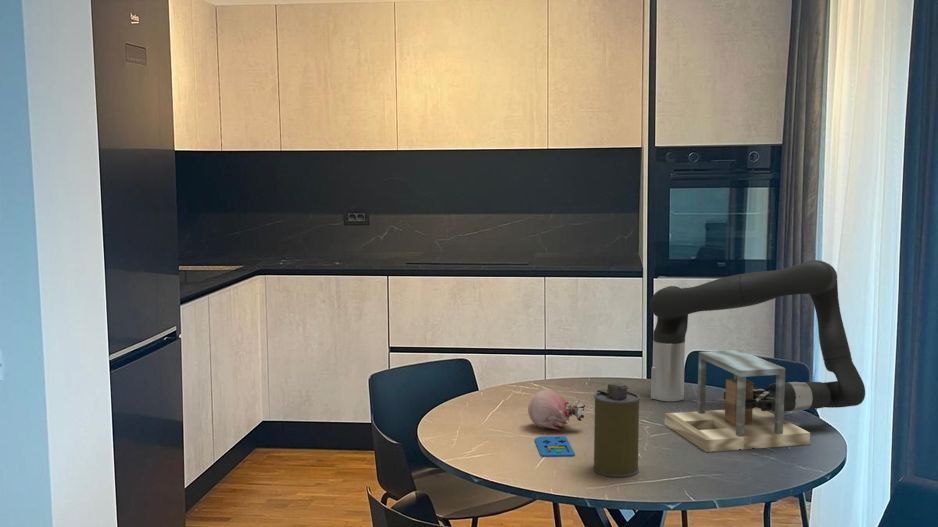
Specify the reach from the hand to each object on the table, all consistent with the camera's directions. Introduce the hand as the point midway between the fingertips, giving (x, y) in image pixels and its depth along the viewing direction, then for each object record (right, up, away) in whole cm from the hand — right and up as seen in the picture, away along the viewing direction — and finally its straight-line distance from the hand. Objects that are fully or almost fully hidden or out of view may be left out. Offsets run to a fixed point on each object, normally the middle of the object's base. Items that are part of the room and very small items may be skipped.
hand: (732, 400), depth 237 cm
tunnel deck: (+2, -9, +1) cm, 9 cm away
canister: (-34, -12, -26) cm, 45 cm away
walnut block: (+2, -6, +1) cm, 6 cm away
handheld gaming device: (-47, -11, -9) cm, 49 cm away
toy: (-45, -9, +7) cm, 46 cm away
